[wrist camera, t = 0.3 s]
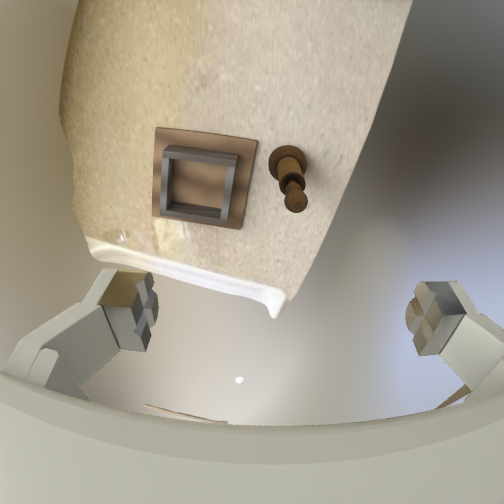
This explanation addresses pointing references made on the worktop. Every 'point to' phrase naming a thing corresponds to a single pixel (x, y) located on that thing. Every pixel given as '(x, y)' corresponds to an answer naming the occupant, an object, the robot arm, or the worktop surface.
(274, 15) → the worktop surface
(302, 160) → the wooden pepper mill
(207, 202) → the holder board
